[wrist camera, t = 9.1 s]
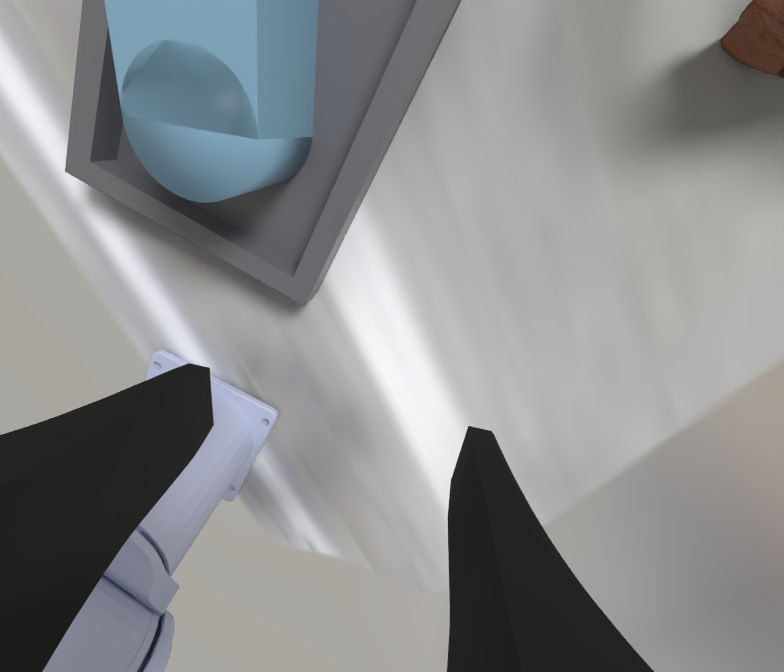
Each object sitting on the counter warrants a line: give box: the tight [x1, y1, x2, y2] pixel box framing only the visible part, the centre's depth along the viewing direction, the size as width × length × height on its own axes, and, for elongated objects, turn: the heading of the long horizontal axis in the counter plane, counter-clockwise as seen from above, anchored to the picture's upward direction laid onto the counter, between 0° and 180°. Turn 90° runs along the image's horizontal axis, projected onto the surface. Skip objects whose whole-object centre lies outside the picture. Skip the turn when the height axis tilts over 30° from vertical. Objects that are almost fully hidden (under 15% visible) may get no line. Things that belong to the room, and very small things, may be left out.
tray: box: [65, 0, 461, 306], centre depth 15 cm, size 16×12×2 cm
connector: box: [104, 0, 319, 203], centre depth 13 cm, size 10×4×5 cm, turn 172°
